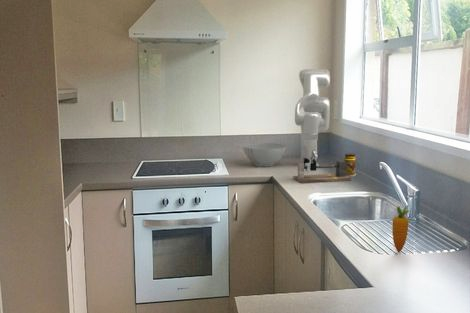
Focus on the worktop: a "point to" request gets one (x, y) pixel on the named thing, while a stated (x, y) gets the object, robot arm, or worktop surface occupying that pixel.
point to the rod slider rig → (336, 177)
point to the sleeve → (308, 167)
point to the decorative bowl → (264, 153)
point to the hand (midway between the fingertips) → (309, 168)
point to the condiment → (350, 164)
